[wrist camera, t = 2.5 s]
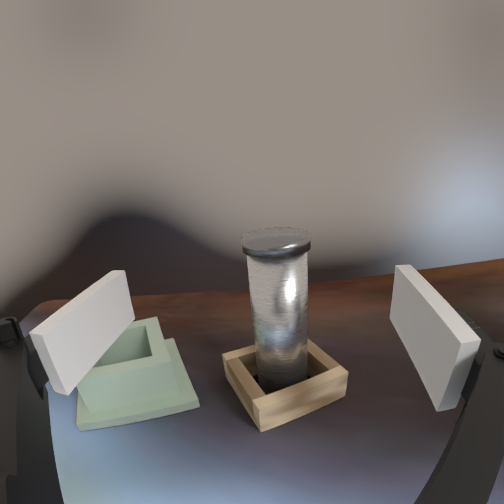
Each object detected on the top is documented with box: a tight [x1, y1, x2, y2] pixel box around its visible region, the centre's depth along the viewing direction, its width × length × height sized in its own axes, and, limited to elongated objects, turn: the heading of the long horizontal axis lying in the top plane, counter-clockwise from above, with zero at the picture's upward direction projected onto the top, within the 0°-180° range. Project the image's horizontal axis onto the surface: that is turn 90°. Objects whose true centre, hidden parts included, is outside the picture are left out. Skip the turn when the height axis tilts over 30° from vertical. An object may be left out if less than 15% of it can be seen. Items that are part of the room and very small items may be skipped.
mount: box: [222, 339, 348, 432], centre depth 27 cm, size 9×9×3 cm
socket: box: [76, 317, 200, 431], centre depth 28 cm, size 12×12×5 cm
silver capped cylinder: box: [241, 227, 311, 395], centre depth 26 cm, size 5×5×15 cm
